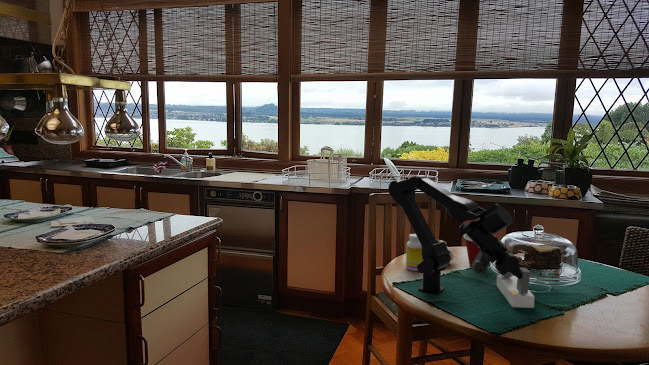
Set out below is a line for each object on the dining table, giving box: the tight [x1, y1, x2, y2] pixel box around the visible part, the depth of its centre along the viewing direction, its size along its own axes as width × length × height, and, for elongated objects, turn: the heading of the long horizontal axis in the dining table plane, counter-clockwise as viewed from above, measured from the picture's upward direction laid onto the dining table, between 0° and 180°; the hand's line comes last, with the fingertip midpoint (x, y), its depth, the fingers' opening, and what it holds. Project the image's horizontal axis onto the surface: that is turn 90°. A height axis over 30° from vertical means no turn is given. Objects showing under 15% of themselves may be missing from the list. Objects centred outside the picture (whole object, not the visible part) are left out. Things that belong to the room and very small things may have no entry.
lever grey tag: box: [503, 272, 513, 279], centre depth 145 cm, size 2×4×7 cm, turn 173°
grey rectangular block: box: [516, 266, 531, 294], centre depth 131 cm, size 2×4×7 cm, turn 173°
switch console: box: [496, 274, 535, 309], centre depth 139 cm, size 6×18×4 cm, turn 173°
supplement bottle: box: [405, 233, 423, 272], centre depth 166 cm, size 7×7×13 cm
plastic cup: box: [463, 234, 480, 268], centre depth 168 cm, size 11×11×12 cm
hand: (521, 277), depth 130 cm, fingers closed, pressing on grey rectangular block
